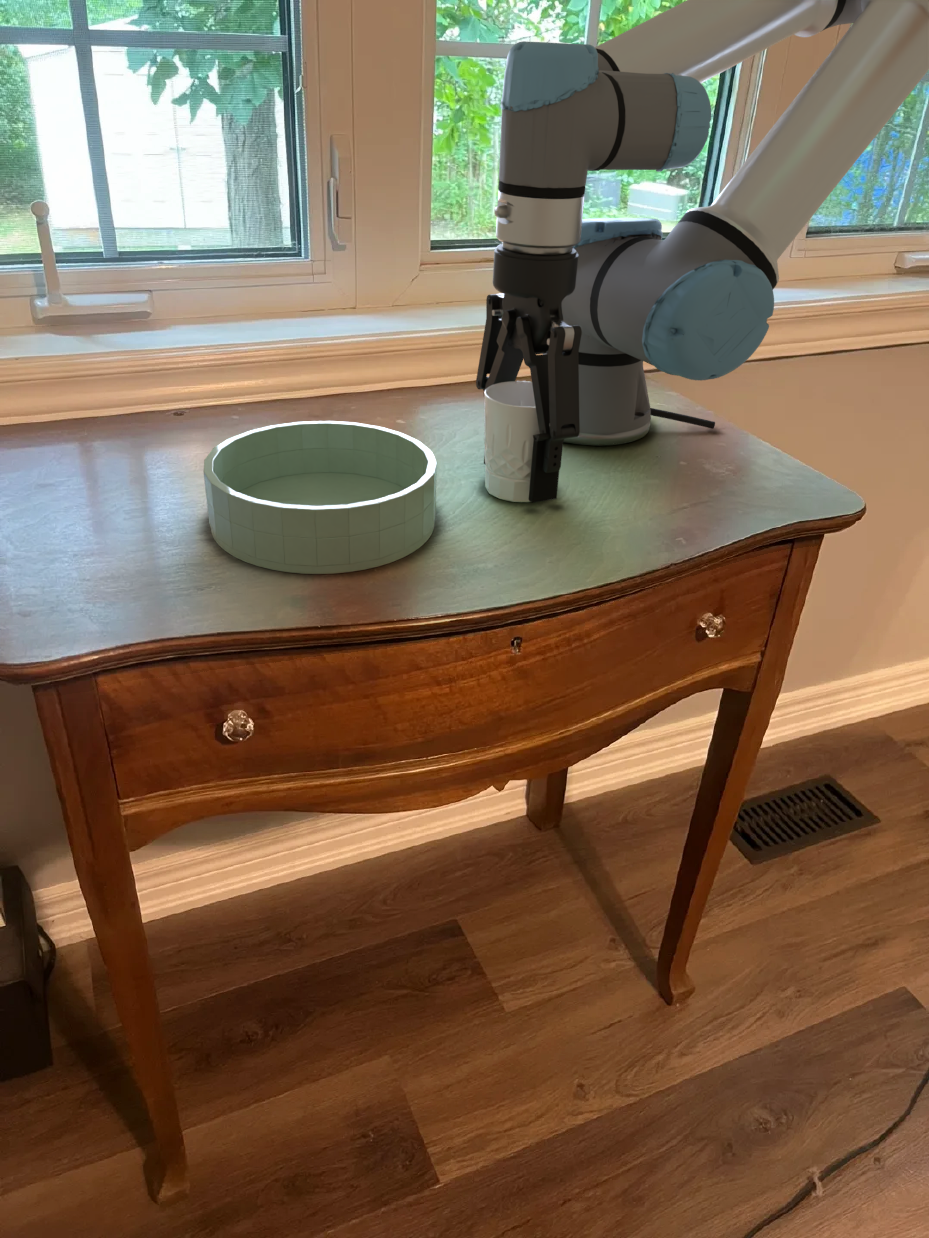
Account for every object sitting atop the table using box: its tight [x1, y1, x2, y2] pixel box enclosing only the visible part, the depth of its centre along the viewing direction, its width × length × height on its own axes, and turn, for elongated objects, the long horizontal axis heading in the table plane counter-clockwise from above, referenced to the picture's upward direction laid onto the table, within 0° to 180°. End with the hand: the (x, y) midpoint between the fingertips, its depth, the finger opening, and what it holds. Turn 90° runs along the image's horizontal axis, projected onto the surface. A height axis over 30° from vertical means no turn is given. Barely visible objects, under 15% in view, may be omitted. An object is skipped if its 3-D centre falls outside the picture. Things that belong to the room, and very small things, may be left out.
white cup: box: [483, 380, 550, 503], centre depth 93 cm, size 8×8×10 cm
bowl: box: [203, 420, 438, 575], centre depth 86 cm, size 21×21×6 cm
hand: (518, 480), depth 95 cm, fingers open, 9 cm apart
